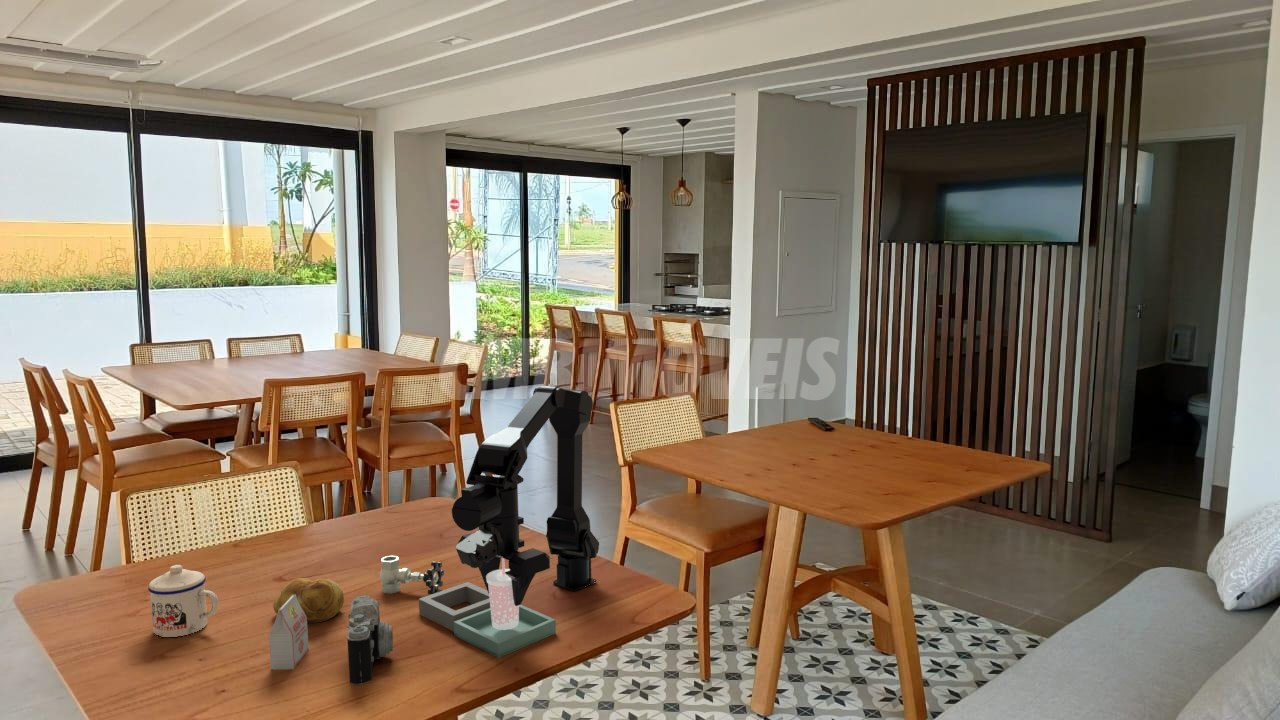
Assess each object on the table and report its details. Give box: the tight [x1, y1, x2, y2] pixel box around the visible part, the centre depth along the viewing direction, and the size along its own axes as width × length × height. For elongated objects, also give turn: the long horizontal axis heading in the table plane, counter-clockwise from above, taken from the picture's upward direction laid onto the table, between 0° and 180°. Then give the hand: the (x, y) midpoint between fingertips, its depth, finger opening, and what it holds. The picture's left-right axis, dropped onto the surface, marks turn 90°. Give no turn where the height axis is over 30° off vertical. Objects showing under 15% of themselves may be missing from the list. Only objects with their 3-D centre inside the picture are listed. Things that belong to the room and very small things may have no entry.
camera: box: [346, 595, 394, 685], centre depth 145 cm, size 15×7×10 cm, turn 15°
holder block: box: [418, 581, 490, 632], centre depth 164 cm, size 11×11×3 cm
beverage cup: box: [486, 558, 519, 630], centre depth 154 cm, size 6×6×14 cm
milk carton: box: [268, 594, 309, 670], centre depth 146 cm, size 4×7×10 cm, turn 1°
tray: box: [453, 604, 557, 659], centre depth 155 cm, size 13×13×2 cm
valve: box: [379, 555, 445, 595], centre depth 174 cm, size 7×7×12 cm
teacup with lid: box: [148, 564, 219, 637], centre depth 158 cm, size 12×9×12 cm
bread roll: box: [273, 577, 345, 623], centre depth 164 cm, size 13×10×8 cm
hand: (504, 599), depth 155 cm, fingers closed on beverage cup, 7 cm apart
